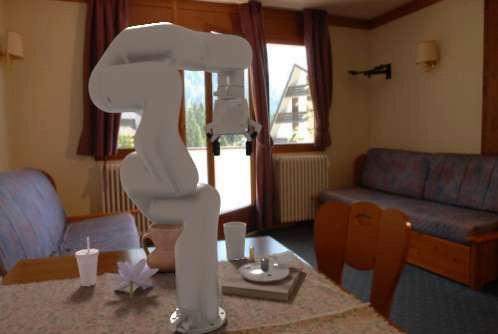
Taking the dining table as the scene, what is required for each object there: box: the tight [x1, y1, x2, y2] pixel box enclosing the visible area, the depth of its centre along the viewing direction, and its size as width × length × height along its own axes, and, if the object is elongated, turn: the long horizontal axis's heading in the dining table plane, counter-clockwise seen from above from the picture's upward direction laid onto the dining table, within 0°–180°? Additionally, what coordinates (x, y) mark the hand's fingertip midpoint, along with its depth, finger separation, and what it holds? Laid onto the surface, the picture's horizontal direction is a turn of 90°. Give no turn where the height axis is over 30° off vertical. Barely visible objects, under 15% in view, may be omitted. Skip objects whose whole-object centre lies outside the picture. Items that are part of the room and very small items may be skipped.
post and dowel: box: [248, 246, 270, 270], centre depth 111 cm, size 12×2×6 cm, turn 24°
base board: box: [221, 259, 304, 302], centre depth 107 cm, size 22×18×2 cm
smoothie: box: [74, 236, 100, 287], centre depth 107 cm, size 6×6×14 cm
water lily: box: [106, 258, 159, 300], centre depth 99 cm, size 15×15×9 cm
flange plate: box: [241, 250, 293, 284], centre depth 108 cm, size 18×14×4 cm
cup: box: [223, 221, 247, 261], centre depth 129 cm, size 8×8×12 cm
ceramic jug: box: [140, 223, 184, 273], centre depth 120 cm, size 18×14×14 cm
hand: (232, 155), depth 104 cm, fingers open, 9 cm apart
